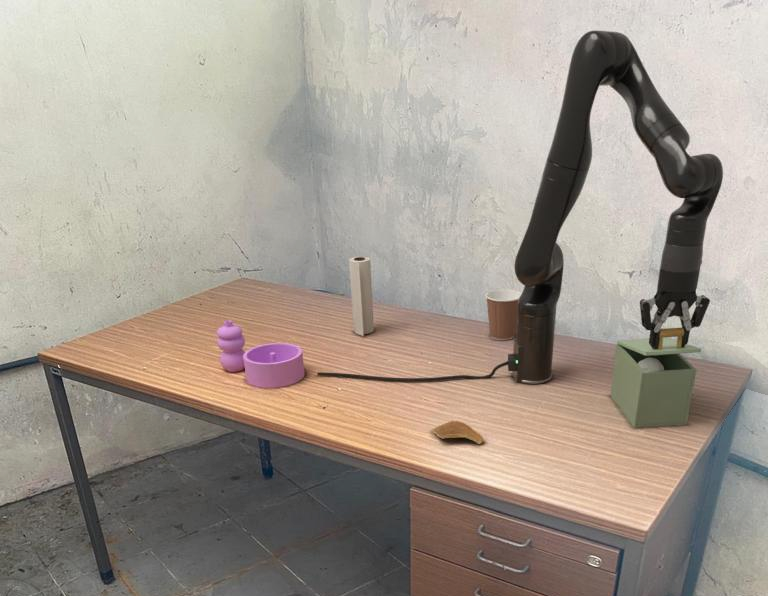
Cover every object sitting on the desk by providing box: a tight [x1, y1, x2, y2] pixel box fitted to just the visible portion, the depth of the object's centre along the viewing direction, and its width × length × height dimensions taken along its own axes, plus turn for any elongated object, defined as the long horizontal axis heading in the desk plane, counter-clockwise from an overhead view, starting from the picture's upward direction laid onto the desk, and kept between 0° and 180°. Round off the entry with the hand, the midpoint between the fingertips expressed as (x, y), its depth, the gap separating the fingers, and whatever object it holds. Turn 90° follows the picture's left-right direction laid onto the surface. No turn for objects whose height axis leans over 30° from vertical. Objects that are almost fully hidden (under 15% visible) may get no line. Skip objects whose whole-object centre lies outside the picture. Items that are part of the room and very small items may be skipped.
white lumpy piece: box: [638, 357, 664, 372], centre depth 170 cm, size 6×8×12 cm
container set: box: [216, 319, 306, 389], centre depth 200 cm, size 25×15×13 cm, turn 60°
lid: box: [616, 327, 702, 356], centre depth 165 cm, size 18×12×5 cm, turn 2°
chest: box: [609, 343, 697, 429], centre depth 171 cm, size 18×12×13 cm, turn 3°
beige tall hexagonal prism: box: [348, 256, 375, 337], centre depth 222 cm, size 7×6×21 cm
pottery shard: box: [432, 420, 485, 445], centre depth 166 cm, size 10×9×2 cm
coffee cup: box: [485, 289, 522, 341], centre depth 216 cm, size 10×10×12 cm
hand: (667, 346), depth 160 cm, fingers closed on lid, 5 cm apart
